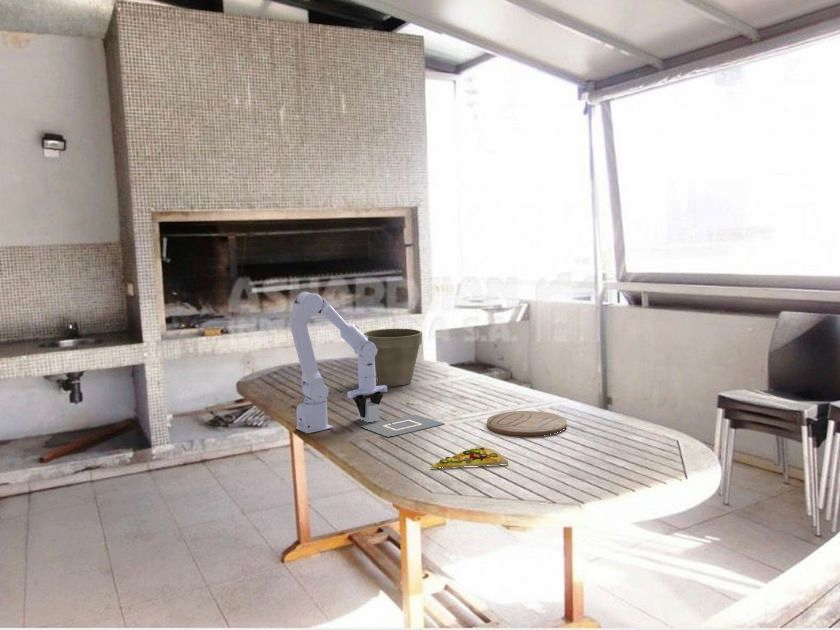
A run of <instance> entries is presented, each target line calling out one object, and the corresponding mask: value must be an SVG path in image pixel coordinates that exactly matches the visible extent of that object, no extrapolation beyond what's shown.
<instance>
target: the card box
mask: <svg viewBox="0 0 840 630" xmlns="http://www.w3.org/2000/svg"><path fill="white" fill-rule="evenodd" d="M365 413H366V414H365V417H364V418H363V417H360V413H359V410H358V409H357V419H358V420H359V419H361V420H360V421H362V420H364V421H363V422H365V421H367V422H366V423H368V422H372V423H374V422H373V421H377V422H379V421H378V420H380V404H379V405H378V404H375V403H372V402H371V401H370V400H366V405H365Z"/></svg>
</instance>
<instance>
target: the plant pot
mask: <svg viewBox="0 0 840 630" xmlns="http://www.w3.org/2000/svg"><path fill="white" fill-rule="evenodd" d="M363 334H364V335H366V336H368V341H371V342H373V343H374V344H375V345H376V348H377V349H378V351H377V354H376V356H375V371H376V372H377V374H378V378H379V386H382V385H385V386H387V387H401V386H400V385H402V386H406V384H407V385H409V384H411V382H412V381H413V376H414V372H415V368H416V363H417V358H418V355H419V349H420V345H421V344H422V343H423V340H422V339H423V332H422V330H419V329H413V328H381V329H380V328H379V329H374V330H373V329H372V330H369V331H364V333H363ZM398 385H399V386H398Z"/></svg>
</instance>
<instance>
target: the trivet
mask: <svg viewBox="0 0 840 630" xmlns="http://www.w3.org/2000/svg"><path fill="white" fill-rule="evenodd" d="M486 427H487V429H488V430H489V431H491V432H493V433H494V434H499V435H503V436H510V437H515V436H520V437H519V438H536V437H535V436H542V437H545V436H544V435H549V436H551V435H550V434H554V433H557V432H560V431H562V430H563V429H565V428H566V427H567V428H568V423H567V419H566V418H565V417H563V416H561V415H559V414H555V413H550V412H545V411H534V410H519V411H518V410H517V411H516V410H514V411H513V410H512V411H507V412H500V413H496V414H494V415H491V416H489V417H488V418H487V420H486ZM567 428H566V429H567ZM566 429H565V430H566ZM562 432H563V431H562ZM554 435H555V434H554Z"/></svg>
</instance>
